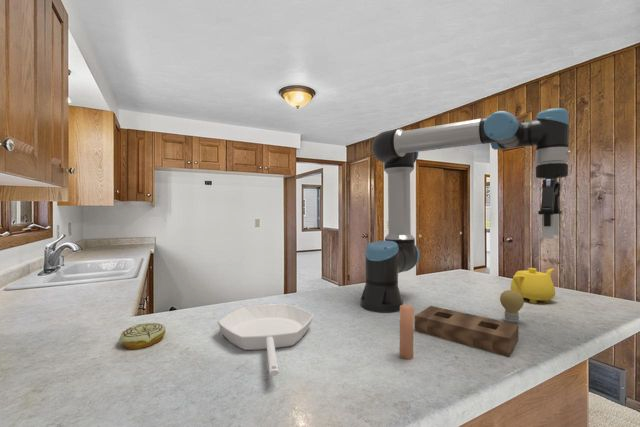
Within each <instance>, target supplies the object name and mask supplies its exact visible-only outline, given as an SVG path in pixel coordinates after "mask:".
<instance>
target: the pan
mask: <svg viewBox="0 0 640 427" xmlns="http://www.w3.org/2000/svg"><path fill="white" fill-rule="evenodd" d="M314 317H315V314H314V313H312V312H310V311H308V310H305V309H303V308H301V307H298V306H296V305H291V304H289V303H273V304H270V303H269V304H257V305H247V306H243V307H239V308H238V309H236V310H234V311H232V312H229V314H227V315H225V316H223V317H222V318H221V319H219V320H218V321H217V324H218V327H219V328H220V332H221V333H222V335H223V337H224V338H226V339H227V340H228V341H229V342H230V343H232V344H234V345H235V347H237V348H240V349H242V350H244V351H259V350H260V351H261V350H266V353H267V365H268V371H269V372H268V373H269V374H268V375H270V376H272V377H276V376H278V375H279V372H280V371H279V364H278V359H277V352H276V349H282V348H288V347H293V346H294V345H296V344H297V343H298V342H299V341H300V340H301V339H302V338H303V337H304V335H305V334H307V331H308V330H309V328H310V325H311V323H312V321H313V319H314Z"/></svg>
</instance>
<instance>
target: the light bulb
mask: <svg viewBox="0 0 640 427" xmlns="http://www.w3.org/2000/svg"><path fill="white" fill-rule="evenodd" d="M524 299H525V298H524V297H522V295H521V294H520V293H518V292H516V291H513V290H511V289H508V290H504V291H502V293H501V294H500V296H499V301H500V303H501V304H500V305H501V306H502V307H503V308H504V310H505V311H504V320H505V322H509V323H514V324H518V323H519V315H520V314H519V311H520V310H521V309H522V308H523V306H524V303H525V300H524Z"/></svg>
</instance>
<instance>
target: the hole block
mask: <svg viewBox="0 0 640 427" xmlns="http://www.w3.org/2000/svg"><path fill="white" fill-rule="evenodd" d="M414 332H417V333H420V334H424V335H429V336H432V337H436V338H440V339H442V340H443V339H444V340H446V341H451V342H454V343H457V344H460V345H465V346H468V347H473V348H476V349H479V350H484V351H487V352H490V353H493V354H496V355H501V356H504V357H509V358H510V357H511V356H512V354H513V352H514V350H515V348H516V346H517V345H518V342H519V324H518V323H509V322H507V321H506V320H505V321H503V320H501V319H500V320H499V319H495V318H490V317H485V316H480V315H476V314H473V313H472V314H470V313H467V312H461V311H457V310H452V309H447V308H443V307H439V306H434V305H430V306H427V307H426V308H425V309H423V310H421V311H420V312H418V313H416V314H415V315H414Z"/></svg>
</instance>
